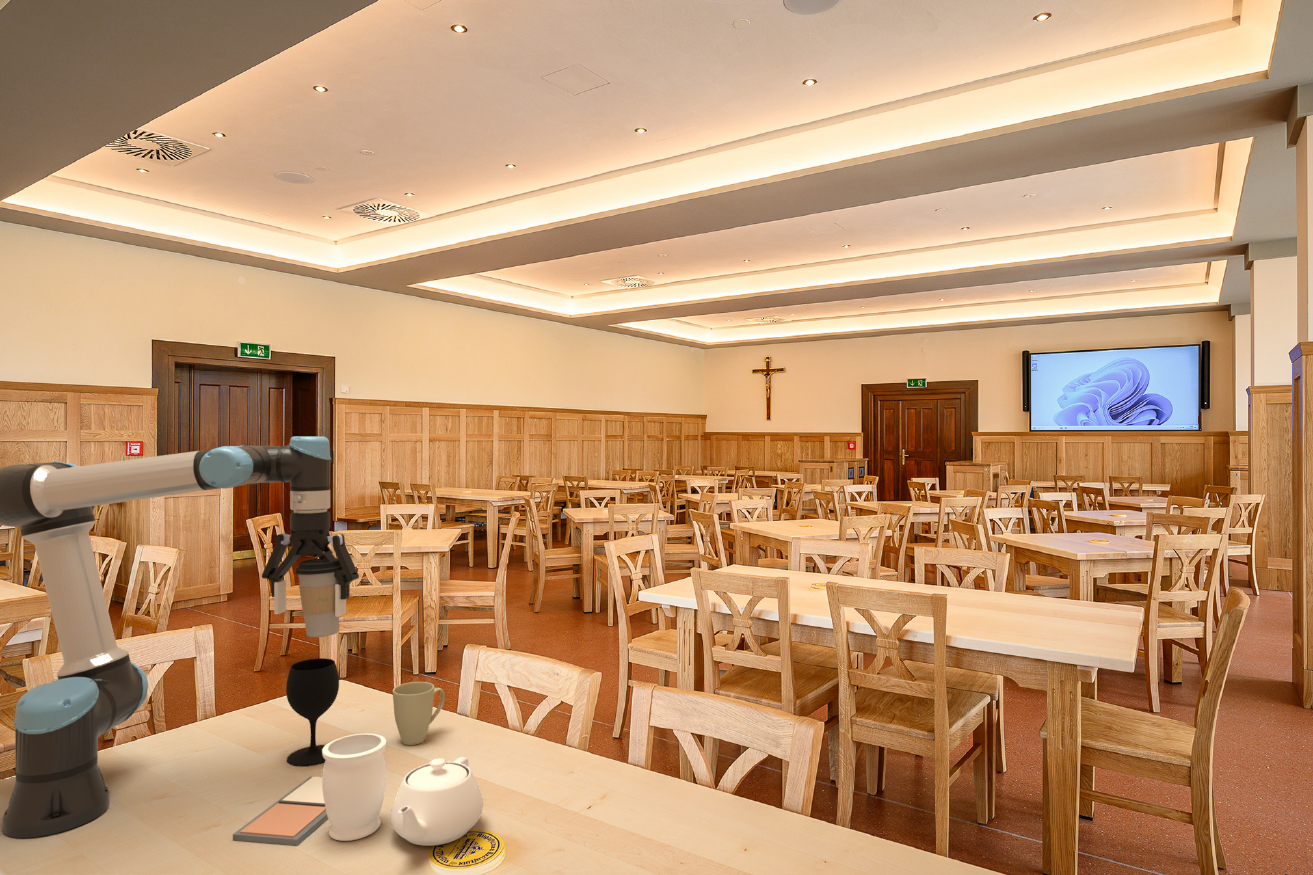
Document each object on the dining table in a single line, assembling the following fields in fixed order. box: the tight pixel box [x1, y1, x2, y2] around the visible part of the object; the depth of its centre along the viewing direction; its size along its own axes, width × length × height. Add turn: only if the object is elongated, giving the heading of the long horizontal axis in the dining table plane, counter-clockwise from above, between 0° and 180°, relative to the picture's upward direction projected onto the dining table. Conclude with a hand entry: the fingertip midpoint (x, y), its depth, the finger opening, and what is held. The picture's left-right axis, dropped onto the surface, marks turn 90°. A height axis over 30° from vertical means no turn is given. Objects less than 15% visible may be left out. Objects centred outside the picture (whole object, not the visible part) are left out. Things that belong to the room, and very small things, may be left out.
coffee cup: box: [294, 557, 343, 638], centre depth 154 cm, size 9×9×15 cm
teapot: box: [390, 756, 484, 847], centre depth 131 cm, size 25×16×12 cm, turn 171°
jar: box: [321, 733, 388, 842], centre depth 132 cm, size 11×10×15 cm
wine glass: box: [285, 658, 340, 768], centre depth 162 cm, size 10×10×20 cm
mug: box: [392, 681, 446, 746], centre depth 171 cm, size 11×10×12 cm
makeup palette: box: [232, 776, 329, 847], centre depth 138 cm, size 12×22×2 cm, turn 172°
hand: (310, 614), depth 154 cm, fingers open, 13 cm apart
